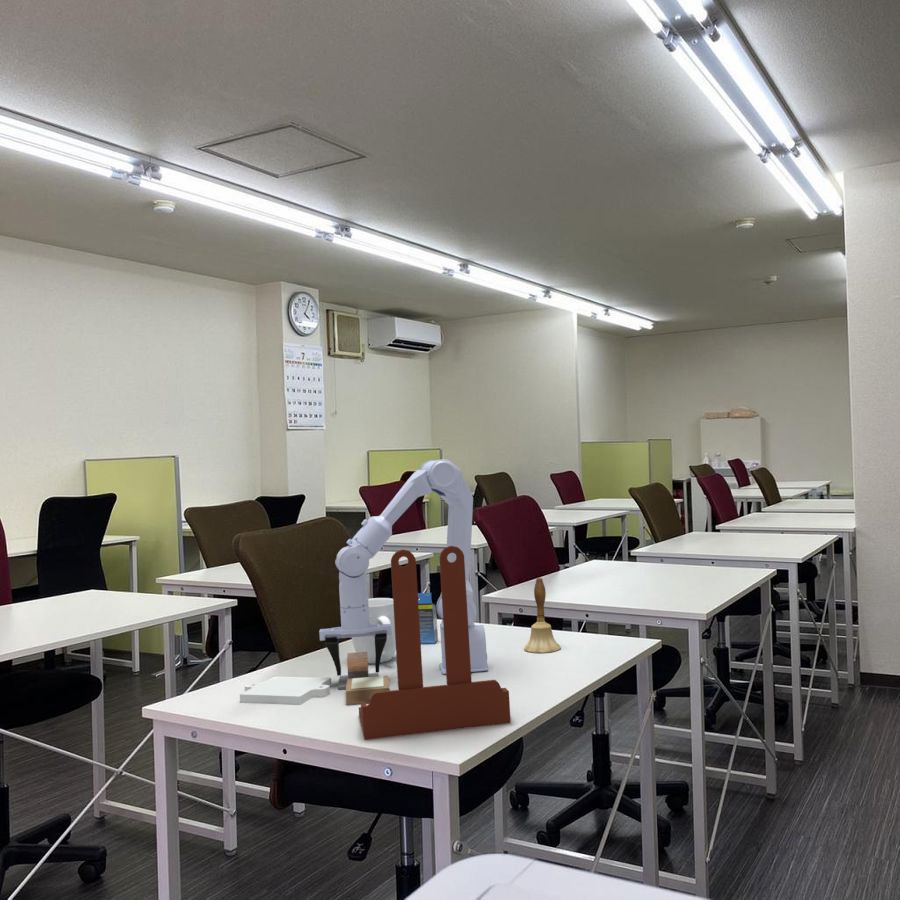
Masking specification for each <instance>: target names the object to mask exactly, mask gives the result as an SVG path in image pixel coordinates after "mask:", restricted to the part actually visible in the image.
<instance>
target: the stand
mask: <svg viewBox="0 0 900 900" xmlns="http://www.w3.org/2000/svg"><path fill="white" fill-rule="evenodd" d="M382 691H390V680H389V675H379V676H376V677H364V678H352V679H347V685H346V689H345V702H346V705H347V706H351V705H361V703H366V704H369V703H370V699H371V696H372V695H373V693H375V692H382Z"/></svg>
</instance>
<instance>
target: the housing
mask: <svg viewBox="0 0 900 900" xmlns="http://www.w3.org/2000/svg"><path fill="white" fill-rule="evenodd" d="M346 665H347V675H348V679H352V678H364V677H369V663H368V655H367V652H356V651H355V652H347V657H346Z"/></svg>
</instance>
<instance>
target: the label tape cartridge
mask: <svg viewBox="0 0 900 900" xmlns="http://www.w3.org/2000/svg"><path fill="white" fill-rule="evenodd" d="M418 606H419V623H420V640H421V645H422V644H423V645H424V644H426V645H427V644H428V645H429V644H431V645H432V644H433V645H434V644H436V643H437V642H438V641H439V635H438V618H437V608H436V607H437V606H435V605H434V603H433V601H432V592H418Z"/></svg>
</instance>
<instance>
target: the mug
mask: <svg viewBox="0 0 900 900" xmlns="http://www.w3.org/2000/svg"><path fill="white" fill-rule="evenodd" d="M368 605H369V622H370V624H391V625H392V635H387V641H386V643H385V646H384V649H383V652H382V655H381V659H380V664H383V663H387V662H389V661H391V660H392V658H393V657H394V655H395V654H396V641H395V624H394V607H393V598H390V597H375V598H374V597H373V598H368ZM363 634H364V633H363ZM351 640H352V641H351V642H352V644H353V649H354V651H355V653H356V652H367V655H368V664H373V665H374V664H375V660H376V654H375V636H364V637H351Z"/></svg>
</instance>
